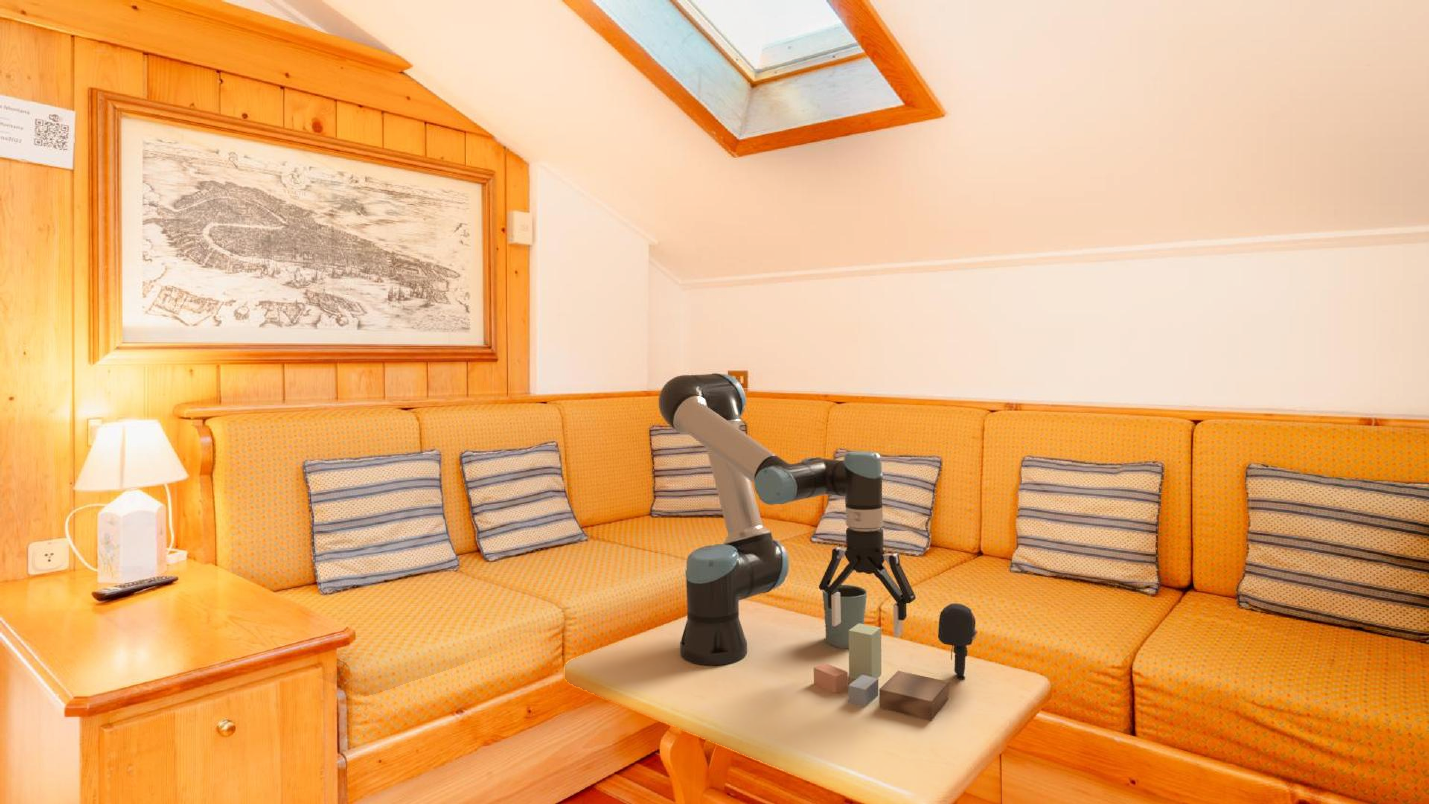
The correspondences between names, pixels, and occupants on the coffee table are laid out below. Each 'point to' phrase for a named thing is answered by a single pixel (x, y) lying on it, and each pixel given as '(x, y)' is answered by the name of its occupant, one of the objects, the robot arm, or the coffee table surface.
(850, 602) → the grey green cup
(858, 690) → the brick slate
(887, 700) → the brick walnut
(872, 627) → the brick sage
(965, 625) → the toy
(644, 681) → the coffee table surface
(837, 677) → the brick terracotta
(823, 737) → the coffee table surface
